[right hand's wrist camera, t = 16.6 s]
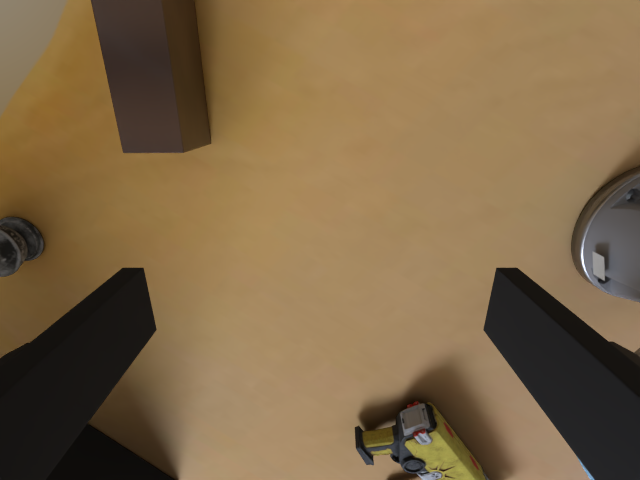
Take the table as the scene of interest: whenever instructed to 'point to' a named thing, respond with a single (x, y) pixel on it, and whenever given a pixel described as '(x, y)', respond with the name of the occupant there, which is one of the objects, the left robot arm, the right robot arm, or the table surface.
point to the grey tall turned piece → (17, 244)
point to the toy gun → (421, 446)
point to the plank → (154, 73)
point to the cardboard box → (102, 461)
